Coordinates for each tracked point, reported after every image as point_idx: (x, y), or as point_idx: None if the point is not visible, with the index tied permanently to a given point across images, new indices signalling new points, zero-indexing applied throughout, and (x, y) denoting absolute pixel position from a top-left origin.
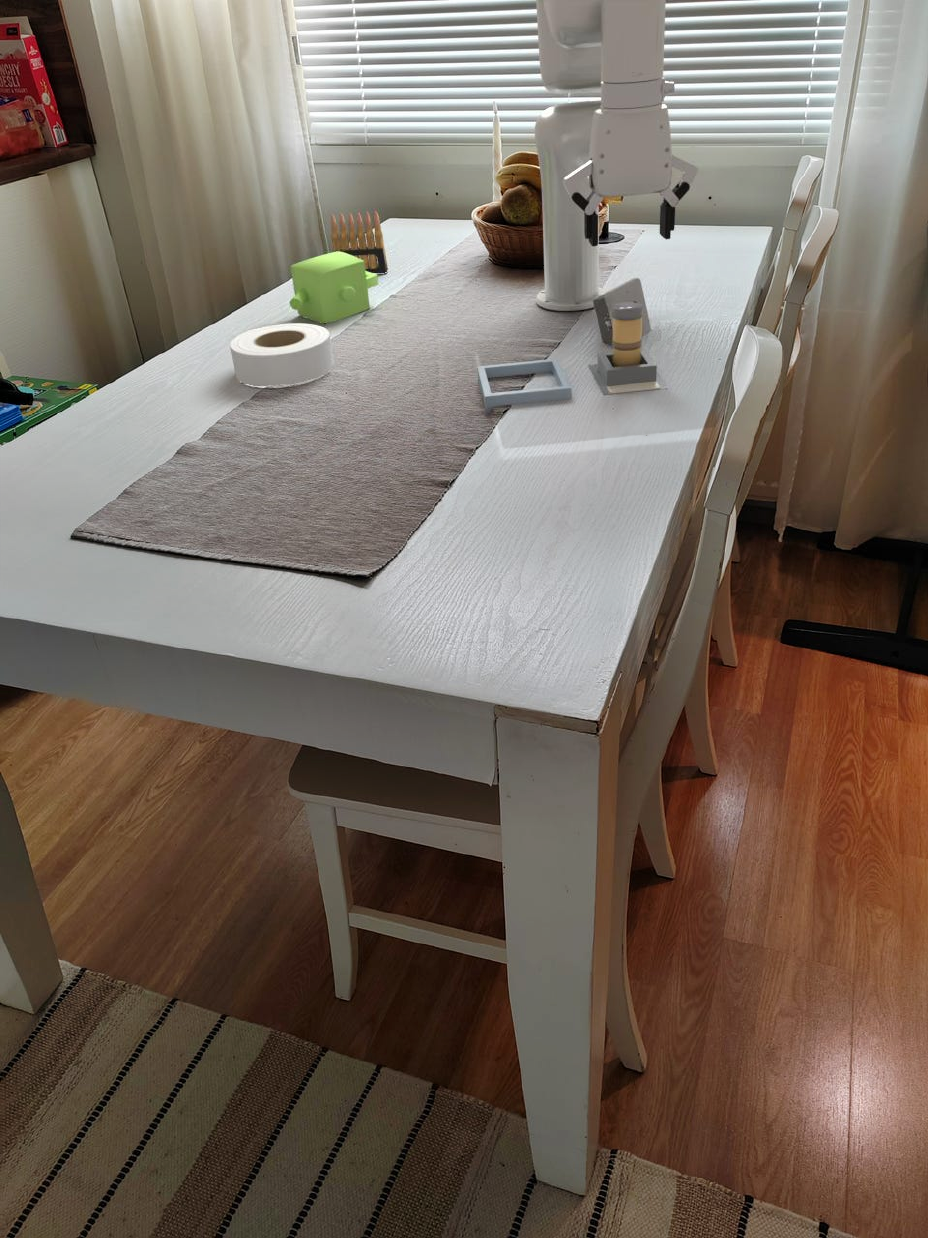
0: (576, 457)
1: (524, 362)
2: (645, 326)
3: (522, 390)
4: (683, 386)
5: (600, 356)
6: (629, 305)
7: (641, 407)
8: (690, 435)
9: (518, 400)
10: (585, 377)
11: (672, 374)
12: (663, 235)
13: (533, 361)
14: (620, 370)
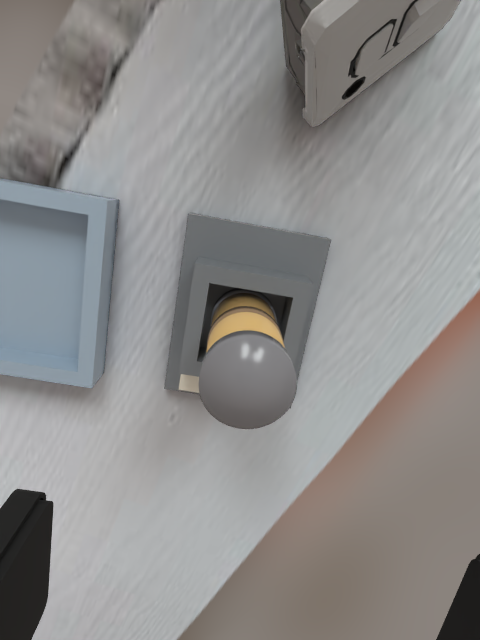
0: (61, 550)
1: (17, 191)
2: (433, 26)
3: None
4: (336, 375)
5: (194, 284)
6: (258, 377)
7: (222, 430)
8: (248, 546)
9: None
10: (174, 245)
11: (349, 310)
12: (447, 635)
13: (42, 194)
14: None
